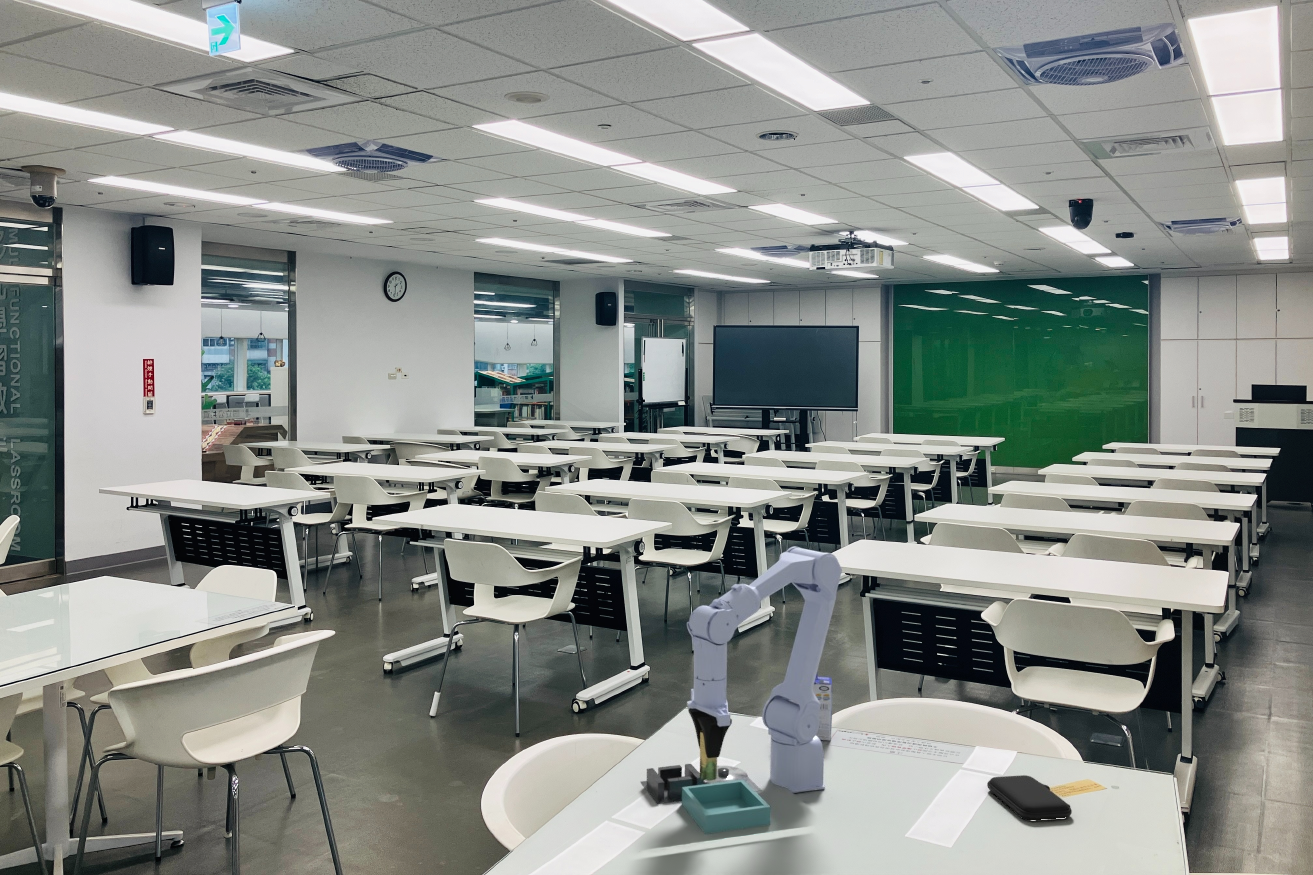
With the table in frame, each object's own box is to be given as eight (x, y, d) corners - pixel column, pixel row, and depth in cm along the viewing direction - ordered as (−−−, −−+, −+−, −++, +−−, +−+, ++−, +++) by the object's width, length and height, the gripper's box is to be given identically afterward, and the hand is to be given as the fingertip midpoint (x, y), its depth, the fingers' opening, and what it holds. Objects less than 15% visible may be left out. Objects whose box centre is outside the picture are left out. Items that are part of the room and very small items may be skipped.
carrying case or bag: (1082, 822, 166) (1035, 786, 180) (1083, 804, 165) (1036, 771, 180) (1025, 826, 164) (982, 790, 179) (1025, 808, 164) (983, 774, 178)
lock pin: (713, 772, 169) (714, 728, 169) (719, 779, 166) (719, 734, 166) (697, 774, 168) (698, 729, 168) (702, 781, 165) (703, 735, 165)
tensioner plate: (740, 774, 184) (740, 753, 184) (761, 795, 174) (761, 774, 174) (640, 786, 178) (640, 765, 177) (656, 809, 168) (657, 787, 168)
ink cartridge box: (830, 732, 207) (832, 665, 206) (832, 741, 201) (833, 673, 201) (784, 729, 208) (785, 663, 207) (784, 738, 203) (785, 671, 202)
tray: (742, 801, 172) (743, 779, 172) (770, 829, 161) (770, 806, 161) (681, 809, 168) (682, 787, 168) (705, 839, 157) (705, 815, 157)
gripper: (675, 666, 172) (674, 740, 173) (702, 690, 158) (701, 771, 159) (712, 663, 174) (711, 736, 175) (742, 687, 160) (741, 766, 161)
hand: (709, 752), depth 167 cm, fingers closed on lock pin, 3 cm apart
